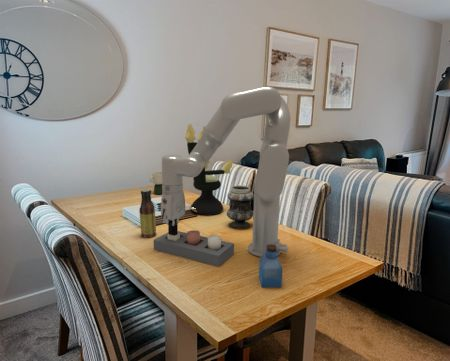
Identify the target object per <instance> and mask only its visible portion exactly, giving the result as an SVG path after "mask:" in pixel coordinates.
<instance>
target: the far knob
mask: <svg viewBox="0 0 450 361" xmlns="http://www.w3.org/2000/svg"><path fill="white" fill-rule="evenodd" d="M167 238H168V239H169V240H174V241H176V240H178V239H180V233H178V234H177V235H175V236H174V235H169V234H167Z"/></svg>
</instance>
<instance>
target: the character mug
mask: <svg viewBox="0 0 450 361" xmlns="http://www.w3.org/2000/svg"><path fill="white" fill-rule="evenodd" d="M151 173H152V176H149V182H150V183H153V184H154V185H153V194H155V195H162V193H163V192H162V171H155V172H151Z"/></svg>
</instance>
